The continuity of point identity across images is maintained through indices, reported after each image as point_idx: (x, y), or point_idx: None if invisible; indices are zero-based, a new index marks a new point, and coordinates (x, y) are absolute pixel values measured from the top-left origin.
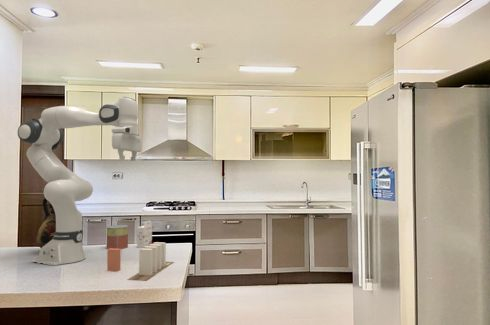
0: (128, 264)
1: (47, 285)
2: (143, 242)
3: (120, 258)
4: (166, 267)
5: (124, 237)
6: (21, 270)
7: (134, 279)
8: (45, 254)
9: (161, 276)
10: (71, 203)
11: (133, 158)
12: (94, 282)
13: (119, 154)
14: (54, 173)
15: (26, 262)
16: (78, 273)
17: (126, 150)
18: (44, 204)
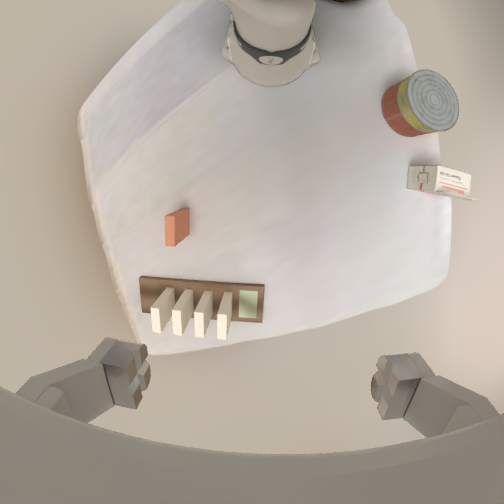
0: (252, 218)
1: (109, 144)
2: (413, 185)
3: (181, 240)
4: None
5: (413, 130)
6: (184, 24)
7: (143, 290)
8: (230, 20)
9: None
10: (227, 1)
11: (379, 401)
12: (132, 216)
13: (69, 373)
14: None
15: None
16: (174, 147)
17: (299, 466)
18: None
